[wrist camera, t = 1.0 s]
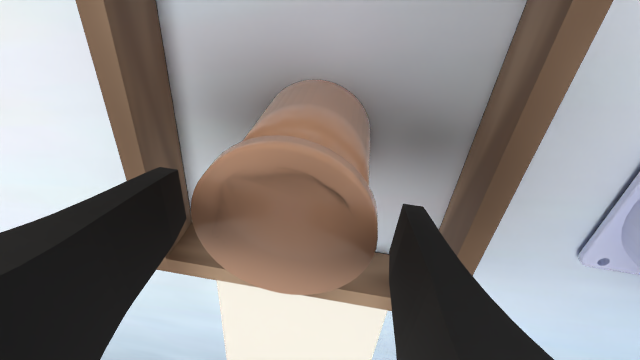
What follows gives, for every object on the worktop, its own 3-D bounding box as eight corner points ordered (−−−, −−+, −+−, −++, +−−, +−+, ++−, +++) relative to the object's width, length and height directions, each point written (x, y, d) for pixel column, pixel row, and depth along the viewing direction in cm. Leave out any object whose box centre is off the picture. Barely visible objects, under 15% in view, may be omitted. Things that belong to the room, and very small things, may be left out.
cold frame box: (583, -59, 11) (645, -64, 8) (439, 275, 20) (449, 321, 17) (111, -104, 12) (40, -122, 9) (178, 231, 21) (151, 268, 18)
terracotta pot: (388, 81, 14) (396, 166, 8) (366, 189, 17) (361, 307, 11) (257, 64, 14) (177, 134, 9) (259, 173, 17) (201, 279, 12)
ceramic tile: (388, 295, 21) (389, 305, 20) (361, 380, 27) (361, 391, 27) (220, 266, 22) (215, 275, 21) (231, 355, 28) (227, 365, 27)
